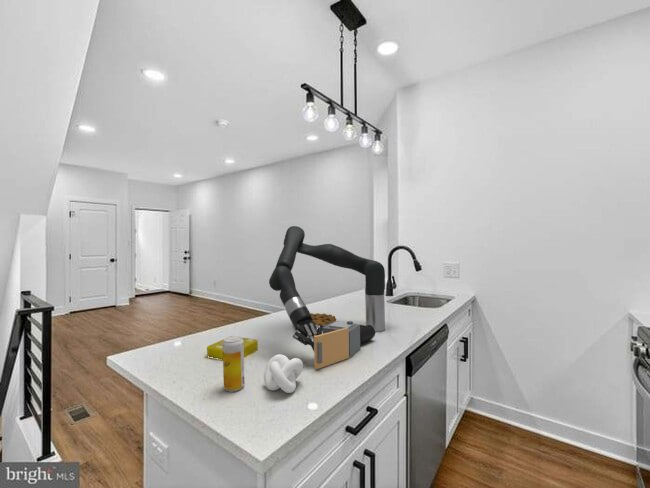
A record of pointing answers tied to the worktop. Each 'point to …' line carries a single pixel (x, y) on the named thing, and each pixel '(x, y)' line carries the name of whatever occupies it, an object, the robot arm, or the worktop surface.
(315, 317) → the pie
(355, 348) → the grey matte box
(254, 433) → the worktop surface
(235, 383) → the amber medicine vial
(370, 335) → the end cap
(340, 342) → the side door
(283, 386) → the white decorative knot
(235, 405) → the worktop surface
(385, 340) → the worktop surface
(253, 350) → the element tile
